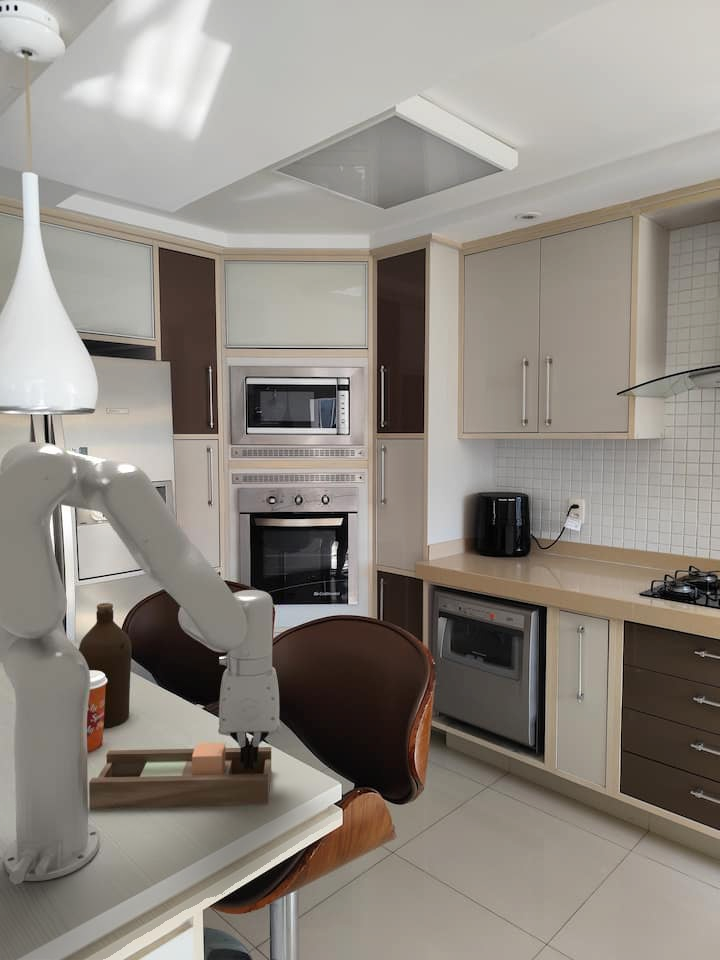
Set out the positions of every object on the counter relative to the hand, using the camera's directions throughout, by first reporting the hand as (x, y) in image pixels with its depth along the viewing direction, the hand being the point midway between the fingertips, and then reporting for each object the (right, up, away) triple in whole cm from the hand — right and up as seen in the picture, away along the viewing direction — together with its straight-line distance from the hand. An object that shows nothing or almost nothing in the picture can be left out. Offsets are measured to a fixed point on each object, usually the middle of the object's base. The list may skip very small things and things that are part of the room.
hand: (249, 765), depth 116 cm
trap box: (-11, -4, -1) cm, 12 cm away
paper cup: (-34, -3, +14) cm, 37 cm away
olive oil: (-35, -2, +26) cm, 44 cm away
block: (-7, -1, -1) cm, 7 cm away
